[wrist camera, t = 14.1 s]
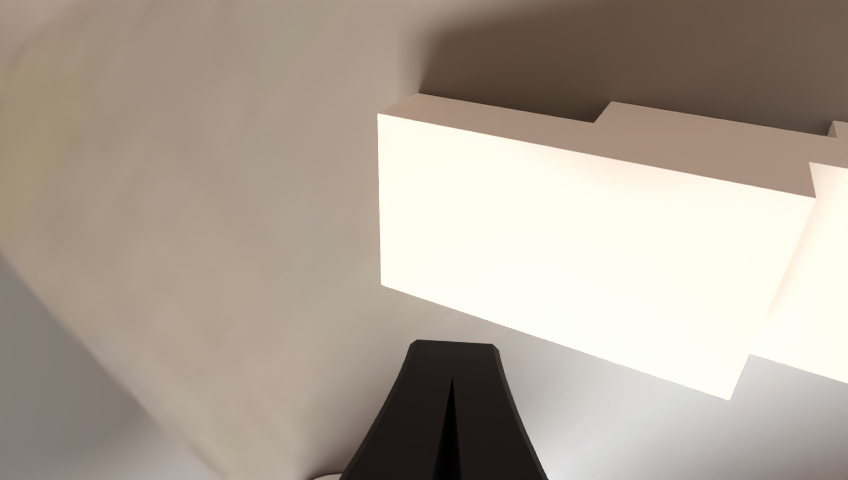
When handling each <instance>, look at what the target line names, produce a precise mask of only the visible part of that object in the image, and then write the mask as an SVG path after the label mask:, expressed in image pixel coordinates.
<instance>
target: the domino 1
mask: <svg viewBox="0 0 848 480" xmlns="http://www.w3.org/2000/svg"><path fill="white" fill-rule="evenodd" d="M378 155H379V202H380V248H381V285H384V286H387V287H390V288H393V289H396V290H399V291H402V292H405V293H408V294H411V295H414V296H417V297H420V298H423V299H426V300H429V301H432V302H435V303H438V304H441V305H444V306H447V307H450V308H453V309H456V310H459V311H462V312H465V313H468V314H471V315H474V316H477V317H480V318H483V319H486V320H489V321H492V322H495V323H498V324H501V325H504V326H507V327H510V328H513V329H516V330H519V331H522V332H525V333H528V334H531V335H534V336H537V337H540V338H543V339H546V340H549V341H552V342H555V343H558V344H561V345H564V346H567V347H570V348H573V349H576V350H579V351H582V352H585V353H588V354H591V355H594V356H597V357H600V358H603V359H606V360H609V361H612V362H615V363H618V364H621V365H624V366H627V367H630V368H633V369H636V370H639V371H642V372H645V373H648V374H651V375H654V376H657V377H660V378H663V379H666V380H669V381H672V382H675V383H678V384H681V385H684V386H687V387H690V388H693V389H696V390H699V391H702V392H705V393H708V394H711V395H714V396H717V397H720V398H723V399H726V400H730V397H731V395H732V393H733V391H734V388H735V386H736V384H737V381H738V379H739V377H740V374H741V372H742V370H743V367H744V365H745V363H746V360H747V358H748V356H749V354H750V351H751V349H752V347H753V344H754V342H755V340H756V337H757V335H758V333H759V330H760V328H761V326H762V323H763V321H764V319H765V317H766V314H767V312H768V310H769V307H770V305H771V303H772V300H773V298H774V296H775V293H776V291H777V289H778V286H779V284H780V282H781V280H782V277H783V275H784V273H785V270H786V268H787V266H788V263H789V261H790V259H791V256H792V254H793V252H794V249H795V247H796V245H797V243H798V240H799V238H800V236H801V233H802V231H803V229H804V226H805V224H806V222H807V219H808V217H809V215H810V212H811V210H812V208H813V206H814V203H815V201H816V199H817V198H816V194H815V189H814V184H813V179H812V175H811V170H810V165H809V161H808V160H805V159H799V158H793V157H787V156H782V155H776V154H770V153H764V152H758V151H752V150H747V149H741V148H735V147H729V146H723V145H717V144H712V143H706V142H700V141H694V140H688V139H682V138H677V137H671V136H665V135H659V134H653V133H648V132H642V131H636V130H630V129H624V128H618V127H612V126H607V125H601V124H595V123H589V122H583V121H578V120H572V119H566V118H560V117H554V116H548V115H543V114H537V113H531V112H525V111H519V110H514V109H508V108H502V107H496V106H490V105H484V104H479V103H473V102H467V101H461V100H455V99H449V98H444V97H438V96H432V95H426V94H420V93H416V94H414V95H412V96H410V97H408V98H406V99H404V100H403V101H401V102H399V103H397V104H395V105H393V106H391V107H389V108H387V109H385V110H383V111H381V112H379V113H378Z"/></svg>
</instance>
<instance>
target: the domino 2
mask: <svg viewBox="0 0 848 480" xmlns="http://www.w3.org/2000/svg"><path fill="white" fill-rule="evenodd" d="M594 123H595V124H601V125H607V126H612V127H618V128H624V129H630V130H636V131H642V132H648V133H653V134H659V135H665V136H671V137H677V138H682V139H688V140H694V141H700V142H706V143H712V144H717V145H723V146H729V147H735V148H741V149H747V150H752V151H758V152H764V153H770V154H776V155H782V156H787V157H793V158H799V159H805V160H808V161H809V165H810V170H811V175H812V179H813V184H814V189H815V194H816V198H817V199H816V201H815V203H814V206H813V208H812V210H811V212H810V215H809V217H808V219H807V222H806V224H805V226H804V229H803V231H802V233H801V236H800V238H799V240H798V243H797V245H796V247H795V249H794V252H793V254H792V256H791V259H790V261H789V263H788V266H787V268H786V270H785V273H784V275H783V277H782V280H781V282H780V284H779V286H778V289H777V291H776V293H775V296H774V298H773V300H772V303H771V305H770V307H769V310H768V312H767V314H766V317H765V319H764V321H763V323H762V326H761V328H760V330H759V333H758V335H757V337H756V340H755V342H754V344H753V347H752V349H751V351H750V354H753V355H757V356H760V357H763V358H766V359H770V360H773V361H776V362H779V363H783V364H786V365H789V366H792V367H796V368H799V369H802V370H805V371H809V372H812V373H815V374H819V375H822V376H825V377H828V378H832V379H835V380H838V381H841V382H845V383H848V140H845V139H839V138H833V137H827V136H821V135H815V134H809V133H803V132H796V131H790V130H784V129H778V128H772V127H766V126H760V125H754V124H748V123H742V122H735V121H729V120H723V119H717V118H711V117H705V116H699V115H693V114H687V113H680V112H674V111H668V110H662V109H656V108H650V107H644V106H638V105H632V104H626V103H619V102H613V101H611V102H610V103H609V105H608V106H607V107H606V108H605V110H604V111H603V112H602V114H601V115H600V116H599V117H598V119H597V120H596V121H595V122H594Z"/></svg>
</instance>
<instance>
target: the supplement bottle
mask: <svg viewBox="0 0 848 480" xmlns="http://www.w3.org/2000/svg"><path fill="white" fill-rule="evenodd" d="M341 475H342V474H333V475H326V476H322V477H319V478H316V479H314V480H339V478H340V477H341Z"/></svg>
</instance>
